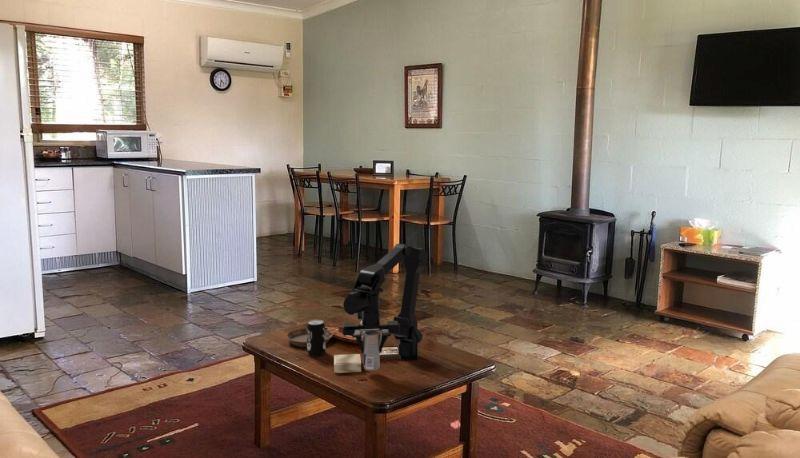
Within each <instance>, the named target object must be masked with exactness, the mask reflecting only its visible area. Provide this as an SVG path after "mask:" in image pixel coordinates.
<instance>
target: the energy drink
mask: <svg viewBox="0 0 800 458" xmlns="http://www.w3.org/2000/svg"><path fill="white" fill-rule="evenodd" d="M379 333H380V332H379V331H366V332H364V334H363V336H362V343H363V355H362V357H363V368H364V369H365V370H366V371H377V370H379V368H380V367H381V365H380V363H381V362H380V358H381V357H380V354H381V353H380V351H379V346H380V334H379Z"/></svg>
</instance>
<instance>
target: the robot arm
mask: <svg viewBox="0 0 800 458" xmlns="http://www.w3.org/2000/svg"><path fill="white" fill-rule="evenodd" d="M428 257H429V256H428V252H427V251H426V249H424V248H421V247H420V248H419V247H412V246H410V245H408V244H403V243H397V244H395V245H394V246H393V248H392V249H391V250H390V251H389V252H387V253H386V254H385V255H384V256H383V257H382V258H381V259H379V260H378V261H377V262H376V263H374V264H371V265H368V266H366V267H364V268H362V269H361V270H360V271H359V273H358V276H357V277H356V280H355V283H354V285H353V287H352V292H349V293H347V297H346V298H344V300H343V304H342V306H343V309H344V311H345V313H346V314H348V315H351V316H352V315H357V317H356V318H357V320H358V321H359V320H360V321H361V319H362V325H360V324H359V325H358V324H355V322H352V321H351V322H350V321H349V322H343V323H342V336H345V337H347V336H351V337H352V338H353V339H354V338H355V340H356V341H357V343H358V346H359V348H360V351H361V354H363V336H362V331H377V332H379V331H380V336H379V351H380V354H381V353H382V350H383V348H384V345H385V343H386V341H387V339H388V337H392V335H393V336H394V340H399V341H398V343H397V355H400V356H401V357H399V360H400V361H401V360H419V355H418V354H419V353H418V352H419V351H418V347H419V345H418V344H420V343H421V341H422V340H423V333H422V332H421V331H420V330H419V329H418V324H419V323H418V322H419V321H418V319H417V317H416V315H415V312H416V304H417V299H418V298H417V297H418V290H419V284H420V277H421V273H422V272H423V271H424V269H426V266H427V261H428ZM400 262H402V264H403V268H404V270H405V280H404V284H403V285H404V286H403V290H402V291H403V292H402V299H401V306H400V312H399V313H398V315H397V316H394V317H393V320H387V321H386V324H384V323H383V324H381V323H380V322H381V319H380V315H381V314H380V313H381V312H380V293H383V292H384V289H383V288H382V285H383V284H384V283H385V281H386V278H387V277H386V276H387V275H388V274H389V273H390V272H391V271H392V270H393V269H394V268H395V267H396V266H397V265H399V263H400Z"/></svg>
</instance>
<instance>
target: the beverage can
mask: <svg viewBox="0 0 800 458" xmlns="http://www.w3.org/2000/svg"><path fill="white" fill-rule="evenodd" d="M306 328H307V347H306V348H307V349H306V350H307V351H306V352H307V354H308V355H309V356H311V357H321V356H323V355H324V354H325V353H326V344H325V329H326V325H325V323H324V320H322V319H312V320H311V319H310V320H308V321H307V325H306Z"/></svg>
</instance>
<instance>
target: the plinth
mask: <svg viewBox="0 0 800 458" xmlns="http://www.w3.org/2000/svg"><path fill="white" fill-rule="evenodd" d="M361 360H362V359H361V354H360V353H351V354H349V353H348V354H334V355H333V369H334V370H333V371H334V372H333V373H334V374H343V373H345V374H346V373H362V362H361Z"/></svg>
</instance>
